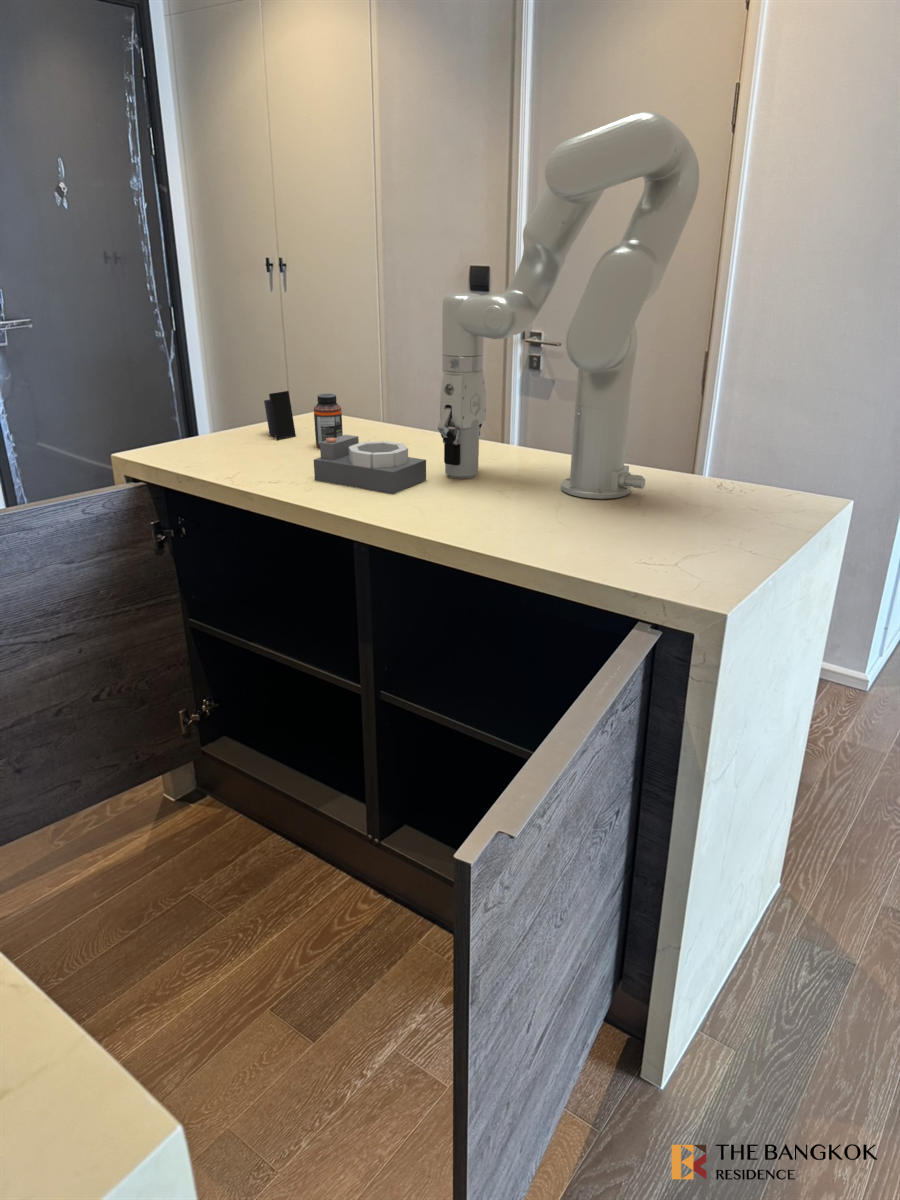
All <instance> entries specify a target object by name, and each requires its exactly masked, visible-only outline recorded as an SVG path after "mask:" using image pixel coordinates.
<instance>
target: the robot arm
mask: <svg viewBox="0 0 900 1200" xmlns="http://www.w3.org/2000/svg"><path fill="white" fill-rule="evenodd" d="M545 163H546V165H545V168H544V179H545V183H546V185H547V186H546V187H545V189H544V190H543V193H542V194H541V196H540V198H539V200H538V202H537V203H536V205H535V207H534V209H533V211H532V212H531V214H530V216H529V218H528V219H527V221H526V223H525V224H524V227H523V231H522V241H523V243H522V244H523V251H522V257H521V260H520V263H519V265H518V267H517V270H516V272H515V273H514V276H513V278H512V279H511V281H510V283H509V284H508V287H507V288H505V289H506V290H505V291H504V292H502V293H496V294H489V295H483V296H481V294H478V293H473V292H472V293H471V292H455V293H454V292H453V293H449V294H446V295H444V297H443V299H442V309H441V310H442V311H441V313H442V321H441V326H442V327H441V328H442V333H441V336H442V338H441V339H442V342H441V343H442V346H441V348H442V350H441V353H442V354H441V355H442V356H441V357H442V359H441V360H442V361H441V362H442V363H441V364H442V365H441V366H442V367H441V369H442V371H441V373H442V380H441V381H442V382H441V386H440V387H441V389H440V390H441V391H440V401H439V402H440V404H439V405H440V406H439V417H440V418H439V419H440V420H439V423H438V425H437V430H438V432H439V433H440V436H441V438H442V443H443V445H444V447H443V450H444V452H443V461H444V462H443V463H444V465H445V464H450V465H460V444H458V441H459V437H460V431H461V430H465V429H468V428H470V427H471V423H472V422H473V421H474V420H475V419H477V420H479V437H480V436H481V428H482V426H483V424H484V422H486V419H487V398H486V397H487V395H486V394H487V393H486V382H485V374H484V342H485V341H484V338H488V339H491V340H503V339H507V338H510V337H513V336H516V335H520V334H522V333H523V332H525V331H527V330H528V329H529V328H530V327H531V325H532V324H533V323H534V322H535V320H536V318H537V316H538V315H539V313H540V312H541V310H542V308H543V307H544V305H545V303H546V302H547V301H548V300H547V299H548V298H549V296H551V295H550V294H551V293H552V291H553V290H554V287H555V285H556V282H557V281H558V278H559V275H560V273H561V271H562V268H563V266H564V264H565V261H566V257H567V255H568V253H569V252H570V250H571V248H572V247H573V245H574V243H575V242H576V239H577V237H578V236H579V235H580V233H581V231H582V229H583V227H584V226H585V224H586V223H587V221H588V220H589V218H590V216H591V214H592V212H593V211H594V209H595V207H596V206H597V204H598V202H599V201H600V198H601V197H602V195H603V193H604V191H605V190H607V189H610V188H612V187H615V186H619V185H621V184H624V183H626V182H630V181H632V180H636V179H639V178H643V181H644V186H643V190H642V194H641V196H640V197H639V200H638V201H637V204H636V206H635V208H634V210H633V212H632V215H631V217H630V220H629V222H628V224H627V227H626V229H625V232H624V233H623V236H622V238H621V240H620V242H619V244H617V245H614V246H613V247H611V248H609V249H608V250H607V251H605V252H604V253H603V254H602V256H601V257H600V258H599V259H598V261H597V262H596V264H595V265H594V268H593V270H592V271H591V274H590V276H589V278H588V281H587V282H586V283H587V284H586V285H585V288H584V289H583V293H582V296H581V298H580V300H579V302H578V305H577V306H576V310H575V312H574V315H573V317H572V319H571V321H570V324H569V325H568V329H567V333H566V337H565V338H566V339H565V349H566V353H567V356H568V359H569V360H570V361H571V363H572V364H573V365H574V366H575V367H576V368H577V375H576V381H575V382H576V383H575V397H574V405H573V406H574V408H573V411H574V412H573V423H572V425H573V426H572V439H571V440H572V442H571V456H570V458H571V460H570V473H569V474H570V477H568V478H565V479H563V480H562V481H561V485H560V488H561V490H562V492H564V493H566V494H568V495H571V496H574V497H579V498H584V499H585V498H586V499H592V500H593V499H595V500H596V499H598V500H602V499H603V500H604V499H606V500H607V499H617V498H621V497H625V496H628V495H629V494H630V493H631V492H632V488H634V489H640V490H643V489H644V488H645V486H646V478H645V477H644V475H639V474H632V473H631V472H630V465H625V458H626V449H627V448H626V446H627V438H628V437H627V435H628V422H629V414H630V413H629V412H630V403H631V392H632V385H633V384H632V383H633V374H634V367H635V362H636V357H637V356H636V355H637V349H638V348H637V347H638V331H637V328H636V325H635V324H636V322H637V319H638V318H639V315H640V313H641V311H642V309H643V306H644V305H645V302H646V301H648V300H649V299H651V298H653V296H654V295H655V294H656V293H657V291H658V289H659V288H660V286H661V283H662V280H663V278H664V275H665V272H666V270H667V269H668V266H669V264H670V261H671V259H672V256H673V255H674V252H675V250H676V248H677V246H678V245H679V241H680V239H681V236H682V234H683V231H684V229H685V226H686V224H687V222H688V220H689V218H690V215H691V213H692V210H693V207H694V205H695V202H696V198H697V196H698V192H699V185H700V166H699V160H698V157H697V155H696V152H695V150H694V148H693V146H692V144H691V142H690V141H689V139H688V138H687V136H686V134H685V133H684V132H683V131H682V130H681V128H679V126H677V125H676V124H675V123H674V122H672V121H671V120H670V119H669V118H666V117H665V116H664V115H662V114H660V113H657V112H653V111H640V112H636V113H633V114H631V115H628V116H625V117H622V118H620V119H618V120H617V119H616V120H615V121H612V122H610V123H608V124H605V125H603V126H600V127H598V128H595V129H593V130H589V131H587V132H584V133H581V134H579V135H576V136H574V137H571V138H570V139H567V140H564V141H563V142H561V143H560V144H559V145H557V146H556V147H554V149H553V150H552V152H551V153H550V154H549V156H548V158H547V161H546V162H545ZM449 423H454V424H455V426H456V427H453V426H449ZM450 430H453V431H455V433H454V436H453V434H452V432H451V431H450Z"/></svg>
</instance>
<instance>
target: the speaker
mask: <svg viewBox="0 0 900 1200" xmlns="http://www.w3.org/2000/svg"><path fill="white" fill-rule="evenodd" d="M268 396H269V398H268V399H265V400H263V402H264V409H265V415H266V421H267V428H268V433H269V436H272V437H276V441H280V440H285V439H290V438H291V439H292V438H295V437H297V435H296V434H297V433H296V430H295V429H296V428H295V421H294V416H293V410H292V403H291V398H290V397H291V396H290V391H289V390H286V391H285V390H284V391H280V392H279V391H278V392H272V393H268Z"/></svg>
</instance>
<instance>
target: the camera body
mask: <svg viewBox="0 0 900 1200" xmlns="http://www.w3.org/2000/svg"><path fill="white" fill-rule="evenodd" d="M319 449H320V451H319V452H320V457H317V458H313V469H314V470H313V473H314V481H316V480H317V482H324V483H328V482H329V484H334V483H335V484H334V485H339V484H340V486H345V485H346V487H350V486H351V488H356V487H357V489H362V488H363V489H362V490H367V489H369V491H373V490H374V491H375V492H380V493H385V494H392V495H394V494H397V493H400V492H402V491H405V490H408V489H409V488H412V487H414V486H417V485H419V484H422V483H424V482H426V481H427V459H425V458H424V459H423V458H417V457H410V456H409V448H408V446H406V444H404V443H401V442H394V441H386V440H385V441H383V440H379V441H377V440H376V441H364V442H359V436H358V435H350V434H343V436H340V437H337V438H326V441H323V442H320V448H319Z"/></svg>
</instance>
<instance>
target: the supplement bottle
mask: <svg viewBox="0 0 900 1200" xmlns="http://www.w3.org/2000/svg"><path fill="white" fill-rule="evenodd" d="M342 412H343V411H342V406H341V405H340V404H338V402H337V394H334V393H321V394H320V393H319V394H318V395H317V404H316V405H315V406H314V407H313V418H314V421H313V422H314V432H315V433H314V434H315V435H314V436H315V446H316V447H317V448H318V449H320V442H323V441H326V438H337V437H340V436H343V435H344V432H343V416H342V415H343V414H342Z"/></svg>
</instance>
